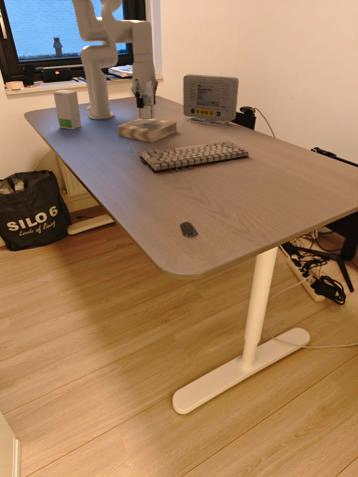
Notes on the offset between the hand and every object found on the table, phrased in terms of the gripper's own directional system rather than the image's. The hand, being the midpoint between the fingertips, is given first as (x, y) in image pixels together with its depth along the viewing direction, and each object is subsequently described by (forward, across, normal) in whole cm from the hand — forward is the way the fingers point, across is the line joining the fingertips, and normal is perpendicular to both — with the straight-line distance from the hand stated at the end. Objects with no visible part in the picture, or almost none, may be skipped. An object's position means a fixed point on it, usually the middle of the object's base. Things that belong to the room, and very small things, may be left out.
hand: (146, 105), depth 141 cm
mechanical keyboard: (+13, +14, +32) cm, 38 cm away
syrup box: (+5, 0, 0) cm, 5 cm away
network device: (+12, -30, +13) cm, 35 cm away
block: (+13, +57, +57) cm, 82 cm away
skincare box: (+12, +11, -37) cm, 40 cm away
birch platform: (+12, 0, 0) cm, 12 cm away
